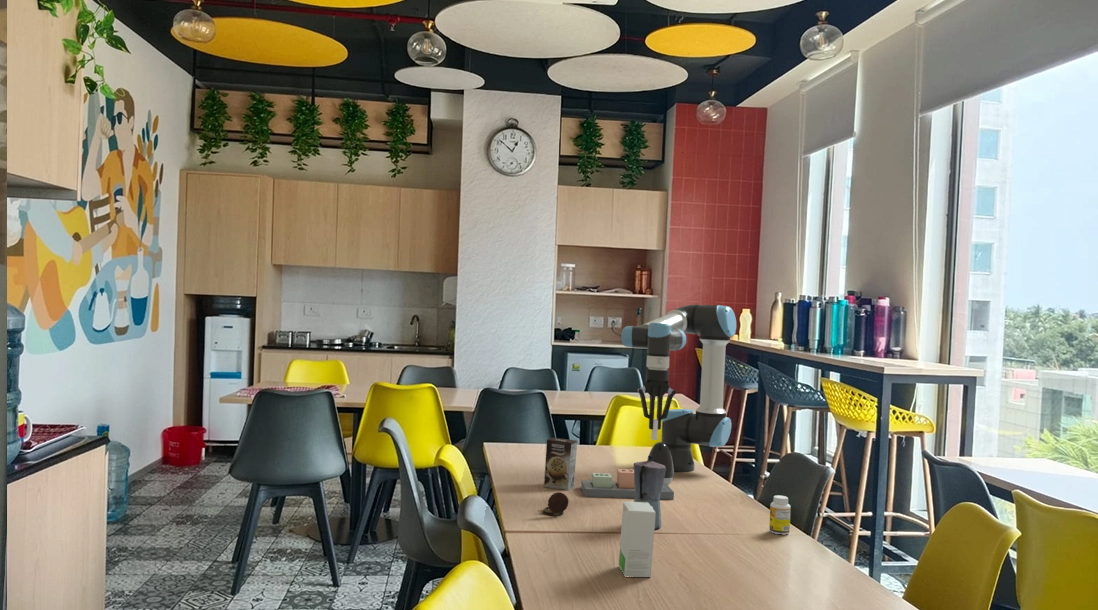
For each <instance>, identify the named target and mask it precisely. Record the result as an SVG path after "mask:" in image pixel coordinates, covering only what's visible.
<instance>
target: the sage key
mask: <svg viewBox="0 0 1098 610" xmlns="http://www.w3.org/2000/svg"><path fill="white" fill-rule="evenodd" d="M591 481H592V483H591V485H592V487H604V488H612V481H613V477H612V475H611V473H605V472H604V473H603V472H601V473H600V472H591Z"/></svg>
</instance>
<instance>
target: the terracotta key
mask: <svg viewBox="0 0 1098 610" xmlns="http://www.w3.org/2000/svg"><path fill="white" fill-rule="evenodd" d="M616 471H617V472H616V481H617V485H618V487H619V488H635V485H634V468H630V469H629V468H627V469H626V468H617V469H616Z"/></svg>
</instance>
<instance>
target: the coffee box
mask: <svg viewBox="0 0 1098 610" xmlns="http://www.w3.org/2000/svg"><path fill="white" fill-rule="evenodd" d="M577 446H578V441H577V440H575V439H567V438H566V439H565V438H559V437H551V438H548V439H546V445H545V447H546V449H545V465H544V482H543V487H545V488H549V489H550V488H551V489H558V490H562V489H564V490H563V491H570V490H572V489H573V487H574V488H575V481H576V480H575V479H576V465H577V464H576V462H577V448H578V447H577ZM571 488H572V489H571ZM569 489H570V490H569Z"/></svg>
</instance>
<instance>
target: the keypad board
mask: <svg viewBox="0 0 1098 610" xmlns="http://www.w3.org/2000/svg"><path fill="white" fill-rule="evenodd" d="M591 483H592V479H591V480H589V479H586V480H585V479H581V482H580V484H581V485H580V488H581V490H582V492H584V493H583V495H584V496H585V498H590V497H592V498H611V497H613V498H614V499H615V498H617V499H635V498H636V497H635V488H619V487H618V485H617V480H615V481H614V480H612V488H604V487H592V485H591ZM668 499H669V500H670V501H672V500H673V501H674V499H675V492H674V491H673V489H672V488H671V487H670V486H669V485H667V484H666V483H663V490H662V492H661V494H660V499H659V500H666V501H667V500H668Z"/></svg>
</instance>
